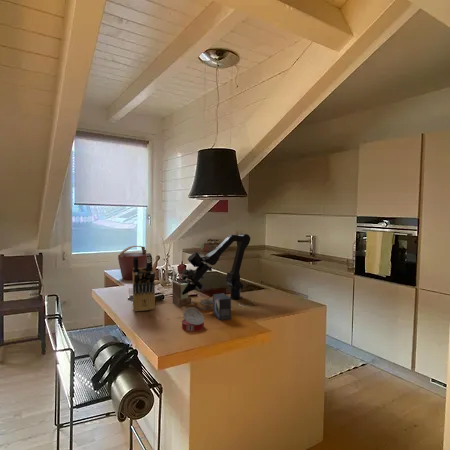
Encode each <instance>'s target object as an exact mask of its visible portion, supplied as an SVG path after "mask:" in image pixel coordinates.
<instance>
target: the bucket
mask: <svg viewBox="0 0 450 450" xmlns="http://www.w3.org/2000/svg"><path fill="white" fill-rule="evenodd" d="M137 247H138V248H141V252H127V251H128V250H130V249H132V248H137ZM147 253H148V252H147V249H146V247H145V246H142V245H132V246H130V245H129V246H127V247H126V248H125V249H123V250H121V251H120V253H119V254H117V255H118V256H117V259H118V265H119V270H120V274H121V278H122V280H125V281H133V268H134V266H133V259H134V257H138V268H146V260H147V256H146V254H147Z"/></svg>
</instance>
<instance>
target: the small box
mask: <svg viewBox="0 0 450 450" xmlns="http://www.w3.org/2000/svg"><path fill="white" fill-rule="evenodd" d="M212 300H213V309H212V314H213V316H215V317H216V319H217V320H219V321H227V320H232V299H231V298H230V296H229V295H227V294H225V292H222V293H215V294H214V293H213V294H212Z"/></svg>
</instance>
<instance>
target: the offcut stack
mask: <svg viewBox="0 0 450 450" xmlns="http://www.w3.org/2000/svg"><path fill="white" fill-rule="evenodd" d="M196 306H197V308H199V309H201V310H203V311H207V310H213V298H205V299H200V302H197V305H196Z"/></svg>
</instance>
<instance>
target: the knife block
mask: <svg viewBox="0 0 450 450" xmlns="http://www.w3.org/2000/svg"><path fill="white" fill-rule="evenodd" d="M146 253H147V254H146V256H147V260H146V268H138V257H134V259H133V266H134V268H133V280H132V303H133V312H140V311H141V312H142V311H150V310H156V292H155V291H156V287H155V286H156V285H155V283H156V282H155V280H156V279H155V277H156V273H155V270H154V267H153V256H152V254H151V253H150V252H146Z"/></svg>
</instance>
